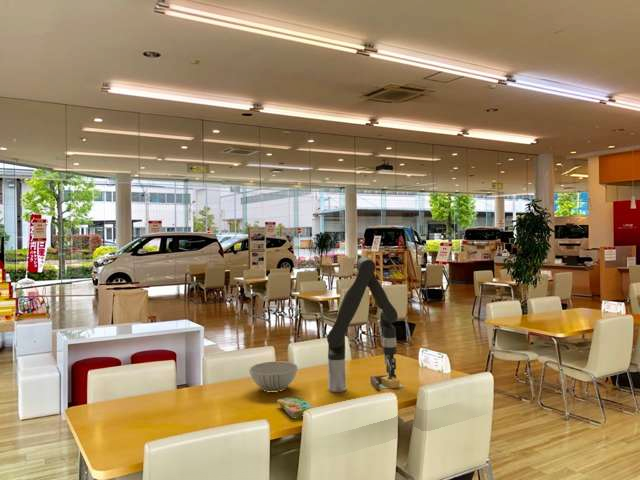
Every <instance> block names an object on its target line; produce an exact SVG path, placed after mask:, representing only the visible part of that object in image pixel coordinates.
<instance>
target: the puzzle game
mask: <svg viewBox="0 0 640 480" xmlns="http://www.w3.org/2000/svg"><path fill="white" fill-rule="evenodd" d="M277 404H278V405H279V406H280V408H281V407H282V408H283V409H284V410H285V411H286V412H285V411H284V410H283V409H282V408H281V409H282V410H283V411H284V412H285V413H286V414H287V415H289V416H290V417H291V418H292V419H293V418H294V417H300V418H303V417H302V415H303V412H304V411H305V410H307V409H310V408H315V407H314V406H313V405H312V404H310V403H309V402H308V401H306V400H305V399H304V398H302V397H301V396H300V395H298V396H297V395H296V396H293V397H292V396H291V397H284V398H280V399H277Z"/></svg>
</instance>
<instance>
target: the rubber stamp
mask: <svg viewBox="0 0 640 480" xmlns="http://www.w3.org/2000/svg"><path fill="white" fill-rule="evenodd" d="M392 367H393V366H392ZM387 371H388V373H387V375H389V376H386V377H381V383H380V384H383V385H385V386H387V387H390V388H389V389H397V388H396V387H400V384H401V381H400V379H398V378H396V379H395V378H393V377H391V376H390V366H389V365H387ZM400 388H401V387H400Z"/></svg>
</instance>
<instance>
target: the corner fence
mask: <svg viewBox="0 0 640 480" xmlns="http://www.w3.org/2000/svg"><path fill="white" fill-rule="evenodd" d="M386 376H389V374H382V375H381V374H380V375H370V384H371V385H372V387H373V388H374V389H375V390H376V391H380V386H379V384H381V377H386ZM393 378H395V379H397V374H395V376H394V377H393Z"/></svg>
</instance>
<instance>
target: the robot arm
mask: <svg viewBox="0 0 640 480" xmlns="http://www.w3.org/2000/svg"><path fill="white" fill-rule="evenodd" d="M355 265H356V270H357V271H358V272H357V274H356V277H355V279H354V281H353V283H352V285H351V286H350V287H349V288H348V290H347V291H346V292H345V295H344V297H343V299H342V302H341V303H340V306H339V309H338V312H337V315H336V316H337V317H336V318H335V322H334V324H333V325H332V327H331V329H330V330H329V331H328V334H327V336H326V337H327V338H326V340H327V344H328V348H327V349H328V350H327V351H328V352H327V357H328V358H327V360H328V361H327V362H328V366H327V367H328V371H327V385H328V386H327V388H328V391H329V392H332V393H342V392H344V391H346V390H347V383H346V381H347V377H346V333H347V330H348V327H350V326H349V325H350V323H351V322H352V320H353V318H354V316H355V315H356V313H357V311H358V309H359V307H360V304H361V302H362V299H363V297H364V294H365V292H366V289H367V286H368V289H369V291H370V294H371V296H372V298H373V300H374V302H375V304H376V306H377V307H378V308H379V309H380V310H381V311H380V314H379V315H380V316H379V318H380V319H379V320H380V323H381V328H382V353H383V355H384V365H385V370H386V373H387V374H388V371H387V365H389V366H390V376H391V377H394V376H395V372H396V371H395V370H397V361H396V360H397V359H396V358H395V355H396V354H397V353H398V351H397V347H398V346H397V333H396V332H397V328H396V327H395V326H394V325H393V323H395V322H397V321H398V317H399V314H398V312H397V309H395V307H394V305H393V304H392V303H391V302H390V300H389V298H388V295H387V293H386V291H385V290H384V288H383V287H382V285H381V283H380V282H379V280H378V278H377V276H376V274H375V272H376V268H377V265H376V263H375V262H374V260H372V259H370V258H369V257H366V256H363V257H362V256H361V257H360V258H358V259H357V260H356V263H355ZM392 366H393V367H392Z"/></svg>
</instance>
